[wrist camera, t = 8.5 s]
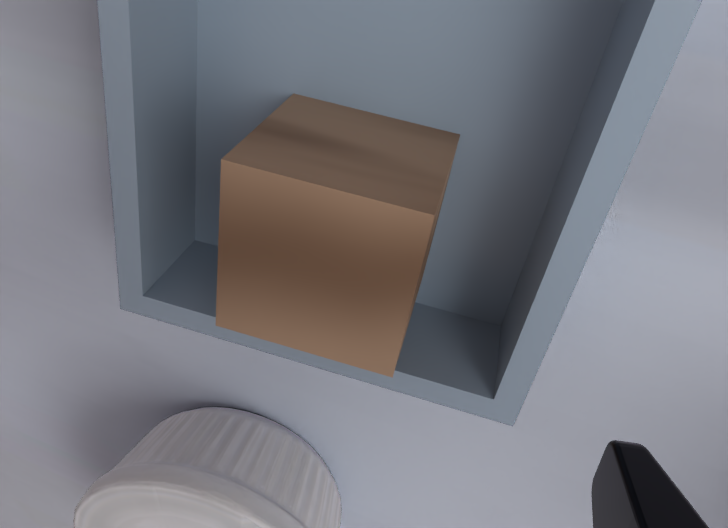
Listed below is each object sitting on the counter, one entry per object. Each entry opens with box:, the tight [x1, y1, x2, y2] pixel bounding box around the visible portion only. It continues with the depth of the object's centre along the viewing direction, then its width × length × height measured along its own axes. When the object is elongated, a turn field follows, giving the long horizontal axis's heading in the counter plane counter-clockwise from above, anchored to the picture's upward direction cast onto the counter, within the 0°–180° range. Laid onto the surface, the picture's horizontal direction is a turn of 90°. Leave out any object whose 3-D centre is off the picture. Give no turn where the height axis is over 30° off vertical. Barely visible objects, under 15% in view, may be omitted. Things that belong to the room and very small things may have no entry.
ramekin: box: [73, 407, 342, 528], centre depth 28 cm, size 11×11×5 cm
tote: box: [97, 0, 702, 426], centre depth 15 cm, size 20×13×4 cm, turn 170°
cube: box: [216, 94, 460, 378], centre depth 17 cm, size 5×5×5 cm
